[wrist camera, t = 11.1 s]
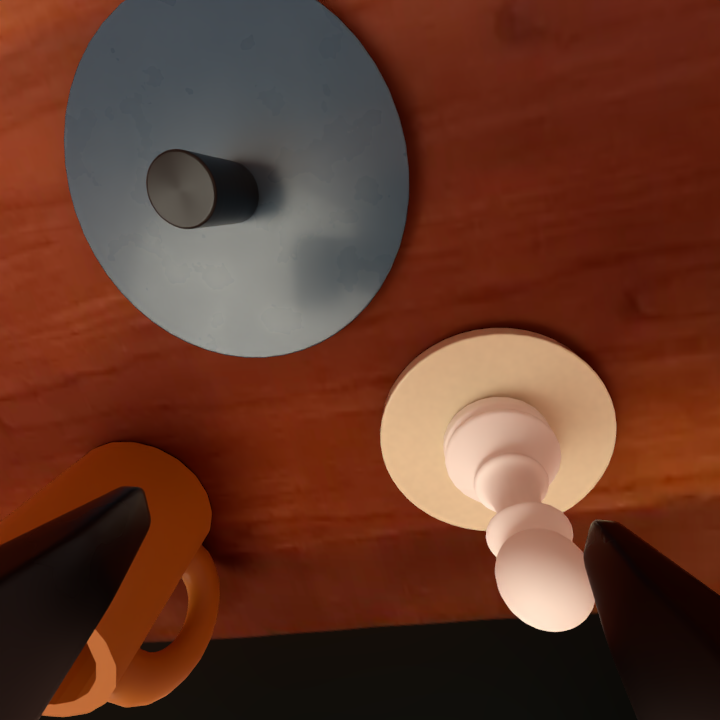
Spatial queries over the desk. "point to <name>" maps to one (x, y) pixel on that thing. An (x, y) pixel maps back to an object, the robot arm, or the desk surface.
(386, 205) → the lid
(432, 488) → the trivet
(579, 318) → the desk surface
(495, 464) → the chess pawn
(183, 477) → the mug
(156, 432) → the desk surface
